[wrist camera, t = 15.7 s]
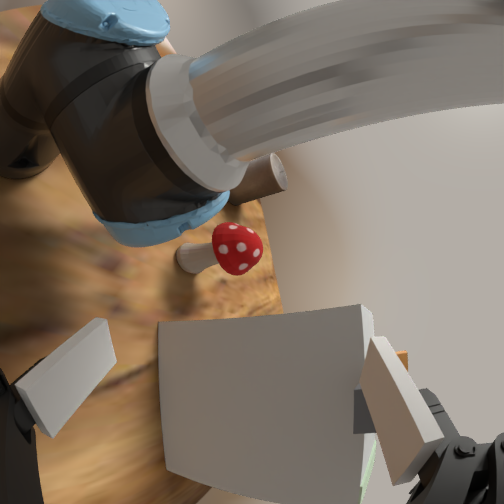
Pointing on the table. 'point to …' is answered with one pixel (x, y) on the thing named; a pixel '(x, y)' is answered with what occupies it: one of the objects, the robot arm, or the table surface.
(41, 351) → the table surface
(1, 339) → the table surface
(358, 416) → the handle
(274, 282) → the table surface
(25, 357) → the table surface
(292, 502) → the breaker panel
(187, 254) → the decorative mushroom
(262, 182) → the pillar candle
